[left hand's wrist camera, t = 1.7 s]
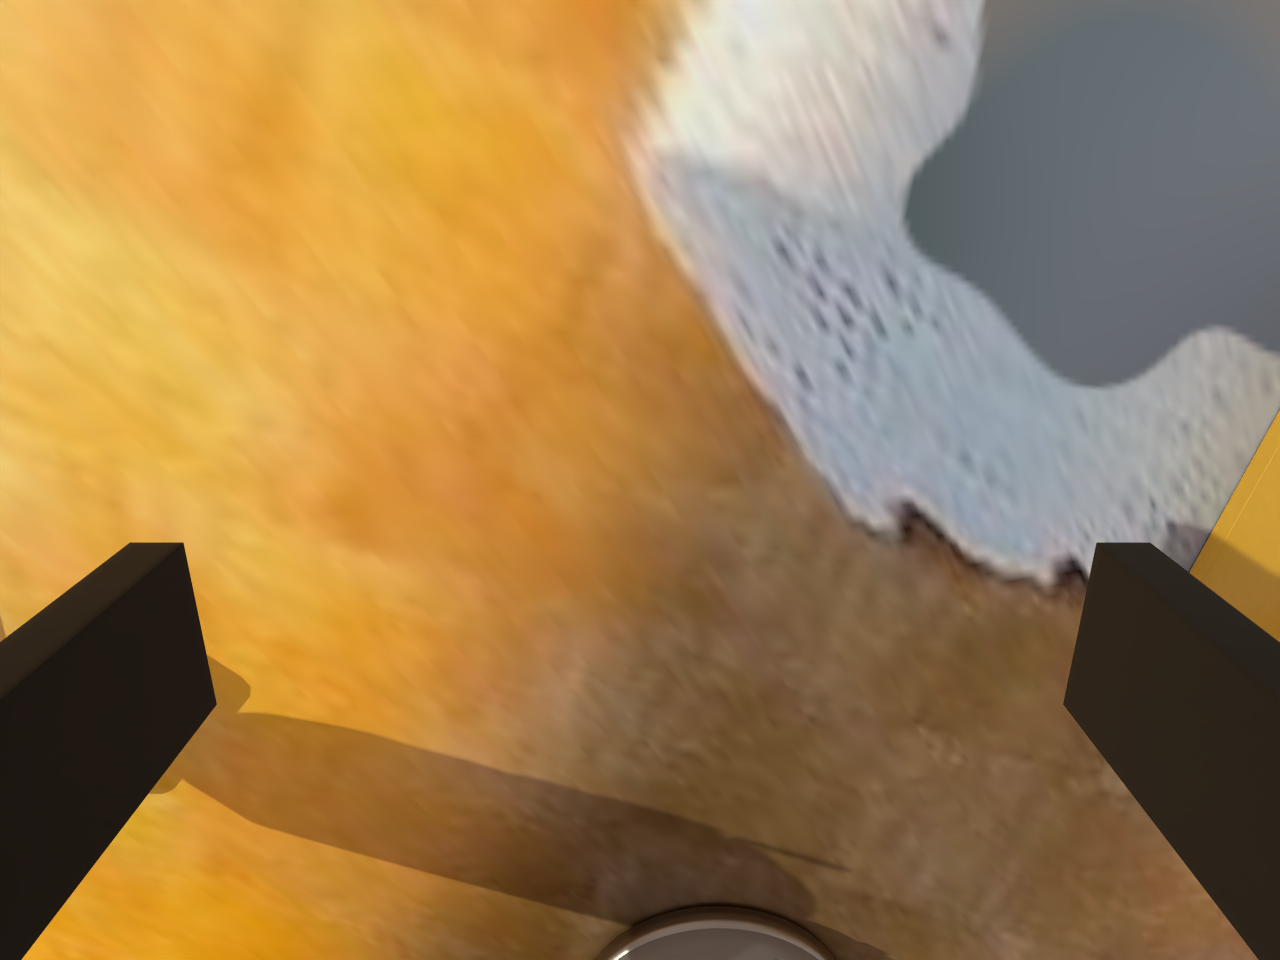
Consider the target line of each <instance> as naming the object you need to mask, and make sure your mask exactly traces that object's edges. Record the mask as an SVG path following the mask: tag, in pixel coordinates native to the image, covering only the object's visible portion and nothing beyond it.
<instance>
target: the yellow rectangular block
mask: <svg viewBox="0 0 1280 960" xmlns="http://www.w3.org/2000/svg"><path fill="white" fill-rule="evenodd" d="M1189 573H1190V574H1191V575H1193V576H1194V577H1195V578H1197V579H1198V580H1199V581H1201V582H1202V583H1203V584H1204V585H1206V586H1207V587H1208V588H1210V589H1211V590H1212V591H1214V592H1215V593H1216V594H1217V595H1219V596H1220V597H1221V598H1223V599H1224V600H1225V601H1227V602H1228V603H1229V604H1231V605H1232V606H1233V607H1234V608H1236V609H1237V610H1238V611H1240V612H1241V613H1242V614H1244V615H1245V616H1246V617H1247V618H1249V619H1250V620H1251V621H1253V622H1254V623H1255V624H1257V625H1258V626H1259V627H1260V628H1262V629H1263V630H1264V631H1266V632H1267V633H1268V634H1270V635H1271V636H1272V637H1273V638H1275V639H1276V640H1277V641H1279V642H1280V410H1279V412H1278V414H1277V415H1276V417H1275V419H1274V421H1273V423H1272V424H1271V426H1270V428H1269V430H1268V432H1267V433H1266V435H1265V437H1264V439H1263V441H1262V442H1261V444H1260V446H1259V448H1258V450H1257V451H1256V453H1255V455H1254V457H1253V459H1252V460H1251V462H1250V464H1249V466H1248V468H1247V469H1246V471H1245V473H1244V475H1243V477H1242V478H1241V480H1240V482H1239V484H1238V486H1237V487H1236V489H1235V491H1234V493H1233V495H1232V496H1231V498H1230V500H1229V502H1228V504H1227V505H1226V507H1225V509H1224V511H1223V513H1222V514H1221V516H1220V518H1219V520H1218V522H1217V523H1216V525H1215V527H1214V529H1213V531H1212V532H1211V534H1210V536H1209V538H1208V540H1207V541H1206V543H1205V545H1204V547H1203V549H1202V550H1201V552H1200V554H1199V556H1198V558H1197V559H1196V561H1195V563H1194V565H1193V567H1192V568H1191V570H1190V572H1189Z"/></svg>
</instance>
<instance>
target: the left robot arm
mask: <svg viewBox="0 0 1280 960" xmlns="http://www.w3.org/2000/svg"><path fill="white" fill-rule="evenodd" d="M216 705H217V703H216V699H215V694H214V689H213V684H212V679H211V674H210V670H209V665H208V660H207V655H206V650H205V645H204V640H203V636H202V631H201V626H200V621H199V616H198V611H197V607H196V602H195V597H194V592H193V587H192V582H191V577H190V573H189V568H188V563H187V558H186V553H185V548H184V544H183V543H129V544H128V545H126V546H125V547H124V548H122V549H121V550H120V551H119V552H117V553H116V554H115V555H113V556H112V557H111V558H109V559H108V560H107V561H106V562H104V563H103V564H102V565H100V566H99V567H98V568H96V569H95V570H94V571H92V572H91V573H90V574H89V575H87V576H86V577H85V578H83V579H82V580H81V581H79V582H78V583H77V584H76V585H74V586H73V587H72V588H70V589H69V590H68V591H66V592H65V593H64V594H63V595H61V596H60V597H59V598H57V599H56V600H55V601H53V602H52V603H51V604H49V605H48V606H47V607H46V608H44V609H43V610H42V611H40V612H39V613H38V614H36V615H35V616H34V617H33V618H31V619H30V620H29V621H27V622H26V623H25V624H23V625H22V626H21V627H20V628H18V629H17V630H16V631H14V632H13V633H12V634H10V635H9V636H8V637H7V638H5V639H4V640H3V641H1V642H0V960H21V959H22V958H23V957H24V955H25V954H26V953H27V952H28V950H29V949H30V948H31V946H32V945H33V944H34V942H35V941H36V940H37V938H38V937H39V936H40V935H41V933H42V932H43V931H44V929H45V928H46V927H47V925H48V924H49V923H50V921H51V920H52V919H53V918H54V916H55V915H56V914H57V912H58V911H59V910H60V908H61V907H62V906H63V905H64V903H65V902H66V901H67V899H68V898H69V897H70V895H71V894H72V893H73V891H74V890H75V889H76V888H77V886H78V885H79V884H80V882H81V881H82V880H83V878H84V877H85V876H86V874H87V873H88V872H89V871H90V869H91V868H92V867H93V865H94V864H95V863H96V861H97V860H98V859H99V857H100V856H101V855H102V854H103V852H104V851H105V850H106V848H107V847H108V846H109V844H110V843H111V842H112V840H113V839H114V838H115V837H116V835H117V834H118V833H119V831H120V830H121V829H122V827H123V826H124V825H125V823H126V822H127V821H128V820H129V818H130V817H131V816H132V814H133V813H134V812H135V810H136V809H137V808H138V807H139V805H140V804H141V803H142V801H143V800H144V799H145V797H146V796H147V795H148V793H149V792H150V791H151V790H152V788H153V787H154V786H155V784H156V783H157V782H158V780H159V779H160V778H161V776H162V775H163V774H164V773H165V771H166V770H167V769H168V767H169V766H170V765H171V763H172V762H173V761H174V759H175V758H176V757H177V756H178V754H179V753H180V752H181V750H182V749H183V748H184V746H185V745H186V744H187V742H188V741H189V740H190V739H191V737H192V736H193V735H194V733H195V732H196V731H197V729H198V728H199V727H200V725H201V724H202V723H203V722H204V720H205V719H206V718H207V716H208V715H209V714H210V712H211V711H212V710H213V708H214V707H215V706H216ZM1063 705H1064V706H1065V707H1066V708H1067V710H1068V711H1069V712H1070V714H1071V715H1072V716H1073V718H1074V719H1075V720H1076V722H1077V723H1078V724H1079V725H1080V727H1081V728H1082V729H1083V731H1084V732H1085V733H1086V735H1087V736H1088V737H1089V739H1090V740H1091V741H1092V742H1093V744H1094V745H1095V746H1096V748H1097V749H1098V750H1099V752H1100V753H1101V754H1102V756H1103V757H1104V758H1105V759H1106V761H1107V762H1108V763H1109V765H1110V766H1111V767H1112V769H1113V770H1114V771H1115V773H1116V774H1117V775H1118V776H1119V778H1120V779H1121V780H1122V782H1123V783H1124V784H1125V786H1126V787H1127V788H1128V790H1129V791H1130V792H1131V793H1132V795H1133V796H1134V797H1135V799H1136V800H1137V801H1138V803H1139V804H1140V805H1141V806H1142V808H1143V809H1144V810H1145V812H1146V813H1147V814H1148V816H1149V817H1150V818H1151V820H1152V821H1153V822H1154V823H1155V825H1156V826H1157V827H1158V829H1159V830H1160V831H1161V833H1162V834H1163V835H1164V837H1165V838H1166V839H1167V840H1168V842H1169V843H1170V844H1171V846H1172V847H1173V848H1174V850H1175V851H1176V852H1177V854H1178V855H1179V856H1180V857H1181V859H1182V860H1183V861H1184V863H1185V864H1186V865H1187V867H1188V868H1189V869H1190V871H1191V872H1192V873H1193V874H1194V876H1195V877H1196V878H1197V880H1198V881H1199V882H1200V884H1201V885H1202V886H1203V888H1204V889H1205V890H1206V891H1207V893H1208V894H1209V895H1210V897H1211V898H1212V899H1213V901H1214V902H1215V903H1216V905H1217V906H1218V907H1219V908H1220V910H1221V911H1222V912H1223V914H1224V915H1225V916H1226V918H1227V919H1228V920H1229V921H1230V923H1231V924H1232V925H1233V927H1234V928H1235V929H1236V931H1237V932H1238V933H1239V935H1240V936H1241V937H1242V938H1243V940H1244V941H1245V942H1246V944H1247V945H1248V946H1249V948H1250V949H1251V950H1252V952H1253V953H1254V954H1255V955H1256V957H1257V958H1258V959H1259V960H1280V642H1279V641H1277V640H1276V639H1275V638H1273V637H1272V636H1271V635H1270V634H1268V633H1267V632H1266V631H1264V630H1263V629H1262V628H1260V627H1259V626H1258V625H1257V624H1255V623H1254V622H1253V621H1251V620H1250V619H1249V618H1247V617H1246V616H1245V615H1244V614H1242V613H1241V612H1240V611H1238V610H1237V609H1236V608H1234V607H1233V606H1232V605H1231V604H1229V603H1228V602H1227V601H1225V600H1224V599H1223V598H1221V597H1220V596H1219V595H1217V594H1216V593H1215V592H1214V591H1212V590H1211V589H1210V588H1208V587H1207V586H1206V585H1204V584H1203V583H1202V582H1201V581H1199V580H1198V579H1197V578H1195V577H1194V576H1193V575H1191V574H1190V573H1189V572H1188V571H1186V570H1185V569H1184V568H1182V567H1181V566H1180V565H1178V564H1177V563H1176V562H1174V561H1173V560H1172V559H1171V558H1169V557H1168V556H1167V555H1165V554H1164V553H1163V552H1161V551H1160V550H1159V549H1158V548H1156V547H1155V546H1154V545H1152V544H1151V543H1097V544H1096V548H1095V553H1094V558H1093V563H1092V568H1091V573H1090V577H1089V582H1088V587H1087V592H1086V597H1085V602H1084V607H1083V611H1082V616H1081V621H1080V626H1079V631H1078V636H1077V640H1076V645H1075V650H1074V655H1073V660H1072V665H1071V670H1070V674H1069V679H1068V684H1067V689H1066V694H1065V699H1064V703H1063ZM595 960H835V959H834V957H833V956H832V954H831V953H830V952H829V951H828V950H827V948H826V947H825V946H824V945H823V944H822V943H821V942H820V941H819V940H817V939H816V938H815V937H814V936H813V935H811V934H810V933H808V932H807V931H806V930H804V929H802V928H801V927H799V926H797V925H796V924H793V923H791V922H789V921H787V920H785V919H783V918H780V917H777V916H775V915H772V914H768V913H765V912H761V911H757V910H752V909H747V908H739V907H728V906H705V907H695V908H688V909H682V910H677V911H673V912H669V913H665V914H662V915H659V916H656V917H653V918H651V919H648V920H646V921H644V922H642V923H639V924H638V925H636V926H634V927H632V928H630V929H628V930H627V931H625V932H624V933H622V934H621V935H619V936H618V937H617V938H616V939H614V940H613V941H612V942H611V943H610V944H608V945H607V946H606V947H605V948H604V949H603V950H602V951H601V953H600V954H599V955H598V956H597V958H596V959H595Z"/></svg>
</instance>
